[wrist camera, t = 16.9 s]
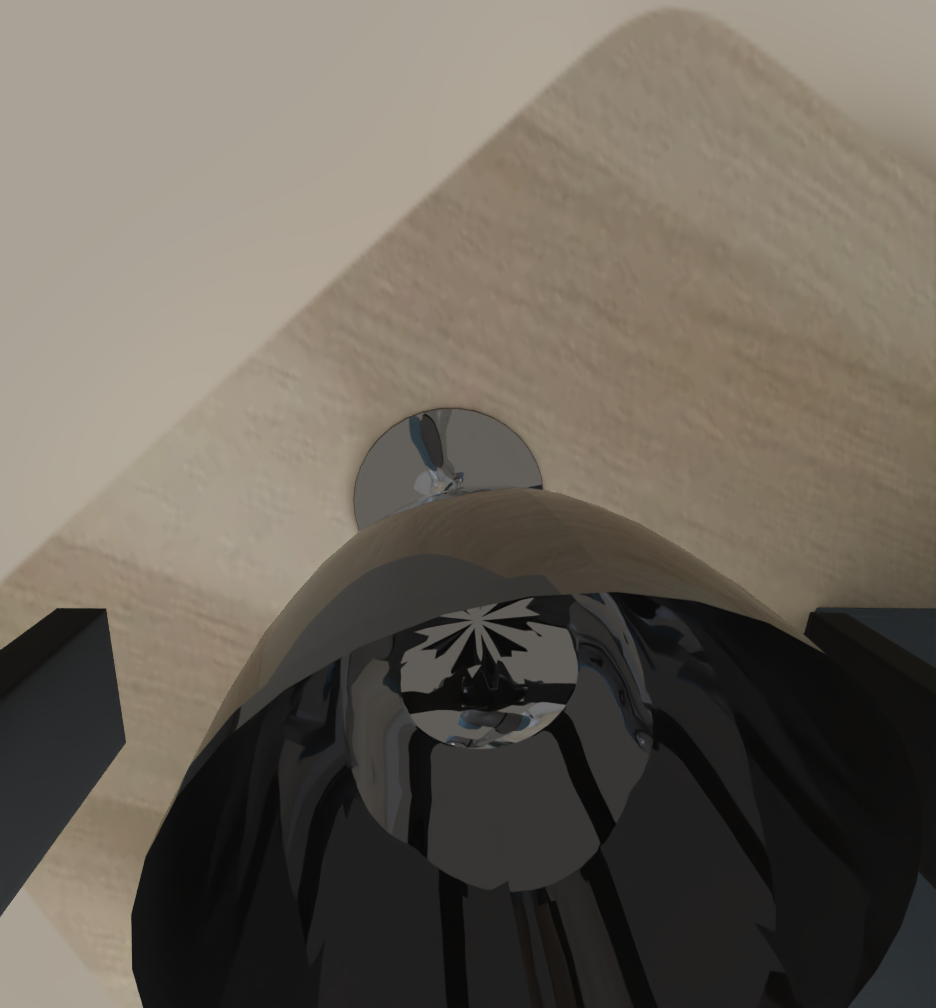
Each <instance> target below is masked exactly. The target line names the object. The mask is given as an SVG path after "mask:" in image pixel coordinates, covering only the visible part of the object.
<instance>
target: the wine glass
mask: <svg viewBox="0 0 936 1008" xmlns="http://www.w3.org/2000/svg"><path fill="white" fill-rule="evenodd" d="M354 511H355V518H356V521H357V525H358V529H359V533H357V534H356V535H354V536H353V537H352V538H351V539H350V540H349V541H348V542H346V543H345V544H344V545H343V546H342V547H341V548H339V549H338V550H337V551H336V552H335V553H334V554H332V555H331V556H330V557H329V558H328V559H327V560H325V561H324V562H323V563H322V564H321V566H320V567H319V568H318V569H317V570H316V571H315V572H314V573H313V575H312V576H311V577H310V578H309V579H308V580H307V581H306V582H305V584H304V585H303V586H302V587H301V588H300V589H299V590H298V591H297V593H296V594H295V595H294V596H293V598H292V599H291V600H290V601H289V603H288V604H287V605H286V606H285V607H284V609H283V610H282V611H281V612H280V614H279V615H278V616H277V617H276V619H275V620H274V621H273V622H272V624H271V625H270V626H269V627H268V629H267V630H266V631H265V633H264V634H263V636H262V638H261V639H260V641H259V642H258V644H257V646H256V647H255V649H254V651H253V652H252V654H251V655H250V657H249V659H248V660H247V662H246V664H245V665H244V667H243V668H242V670H241V672H240V673H239V675H238V677H237V678H236V680H235V681H234V683H233V685H232V686H231V688H230V690H229V691H228V693H227V695H226V697H225V698H224V700H223V702H222V704H221V706H220V708H219V710H218V712H217V714H216V716H215V718H214V720H213V722H212V724H211V726H210V728H209V729H208V731H207V733H206V735H205V737H204V739H203V741H202V743H201V745H200V747H199V749H198V751H197V753H196V755H195V757H194V759H193V761H192V762H191V764H190V766H189V768H188V770H187V772H186V774H185V776H184V778H183V780H182V782H181V784H180V786H179V788H178V790H177V792H176V794H175V795H174V797H173V799H172V801H171V803H170V805H169V807H168V809H167V811H166V813H165V815H164V817H163V819H162V821H161V823H160V825H159V827H158V830H157V832H156V834H155V837H154V839H153V841H152V843H151V846H150V848H149V850H148V853H147V855H146V857H145V861H144V865H143V870H142V874H141V878H140V882H139V886H138V890H137V894H136V898H135V902H134V906H133V910H132V914H131V925H132V970H133V974H134V977H135V981H136V984H137V987H138V991H139V994H140V998H141V1001H142V1005H143V1008H848V1007H849V1005H850V1004H851V1003H852V1002H853V1000H854V999H855V998H856V997H857V995H858V994H859V993H860V991H861V990H862V989H863V988H864V986H865V985H866V984H867V982H868V981H869V980H870V979H871V977H872V976H873V975H874V973H875V972H876V971H877V969H878V967H879V966H880V964H881V962H882V960H883V958H884V957H885V955H886V953H887V951H888V949H889V948H890V946H891V944H892V942H893V940H894V939H895V937H896V935H897V933H898V932H899V930H900V928H901V925H902V923H903V920H904V917H905V914H906V911H907V908H908V905H909V902H910V900H911V897H912V894H913V891H914V888H915V885H916V882H917V877H918V869H919V861H920V854H921V846H922V838H923V827H922V817H921V807H920V796H919V786H918V783H917V780H916V777H915V774H914V772H913V769H912V766H911V763H910V761H909V758H908V755H907V753H906V750H905V747H904V744H903V742H902V739H901V737H900V735H899V734H898V733H897V731H896V730H895V728H894V727H893V725H892V724H891V722H890V721H889V719H888V718H887V717H886V715H885V714H884V712H883V711H882V709H881V708H880V706H879V705H878V704H877V702H876V701H875V699H874V698H873V696H872V695H871V693H870V692H868V691H867V690H866V689H865V688H864V687H863V686H862V685H860V684H859V683H858V682H857V681H856V680H855V679H854V678H853V677H851V676H850V675H849V674H848V673H847V672H846V671H845V670H844V669H842V668H841V667H840V666H839V665H838V664H837V663H836V662H834V661H833V660H832V659H831V658H830V657H829V656H828V655H826V654H825V653H824V652H823V651H822V650H821V649H820V648H818V647H817V646H816V645H815V644H814V643H813V642H812V641H810V640H809V639H808V638H807V637H806V636H805V635H804V634H802V633H801V632H800V631H799V630H797V629H796V628H795V627H794V626H792V625H791V624H790V623H788V622H787V621H786V620H784V619H783V618H782V617H780V616H779V615H778V614H777V613H775V612H774V611H773V610H771V609H770V608H769V607H767V606H766V605H765V604H763V603H762V602H761V601H759V600H758V599H757V598H756V597H754V596H753V595H752V594H750V593H749V592H748V591H746V590H745V589H744V588H742V587H741V586H740V585H739V584H737V583H736V582H734V581H733V580H731V579H729V578H728V577H726V576H725V575H723V574H722V573H720V572H719V571H717V570H716V569H714V568H713V567H711V566H709V565H708V564H706V563H705V562H703V561H702V560H700V559H699V558H697V557H696V556H694V555H693V554H691V553H690V552H688V551H686V550H685V549H683V548H682V547H680V546H679V545H677V544H675V543H674V542H672V541H670V540H668V539H666V538H665V537H663V536H661V535H659V534H658V533H656V532H654V531H652V530H650V529H649V528H647V527H645V526H643V525H641V524H640V523H638V522H636V521H633V520H631V519H629V518H626V517H624V516H621V515H619V514H617V513H614V512H612V511H610V510H607V509H605V508H603V507H600V506H598V505H595V504H592V503H589V502H586V501H582V500H579V499H576V498H573V497H570V496H567V495H564V494H561V493H556V492H551V491H545V490H543V486H542V479H541V475H540V472H539V469H538V466H537V463H536V461H535V459H534V457H533V455H532V453H531V452H530V450H529V448H528V447H527V446H526V444H525V443H524V442H523V441H522V439H521V438H520V437H519V436H518V435H517V434H516V433H515V432H513V431H512V430H511V429H510V428H509V427H508V426H506V425H505V424H503V423H501V422H500V421H498V420H496V419H494V418H493V417H491V416H488V415H485V414H483V413H480V412H477V411H473V410H467V409H461V408H439V409H434V410H429V411H423V412H421V413H418V414H415V415H413V416H410V417H408V418H406V419H404V420H402V421H401V422H399V423H397V424H396V425H394V426H392V427H391V428H390V429H389V430H388V431H387V432H385V433H384V434H383V435H382V436H381V437H380V438H379V439H378V440H377V441H376V442H375V444H374V445H373V446H372V448H371V449H370V450H369V451H368V453H367V455H366V457H365V459H364V461H363V463H362V464H361V466H360V469H359V473H358V476H357V479H356V482H355V491H354Z"/></svg>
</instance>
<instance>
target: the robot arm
mask: <svg viewBox="0 0 936 1008" xmlns="http://www.w3.org/2000/svg"><path fill="white" fill-rule="evenodd" d="M804 635H805V636H806V637H807V638H808V639H809V640H810V641H812V642H813V643H814V644H815V645H816V646H817V647H818V648H820V649H821V650H822V651H823V652H824V653H825V654H826V655H828V656H829V657H830V658H831V659H832V660H833V661H834V662H836V663H837V664H838V665H839V666H840V667H841V668H842V669H844V670H845V671H846V672H847V673H848V674H849V675H850V676H851V677H853V678H854V679H855V680H856V681H857V682H858V683H859V684H860V685H862V686H863V687H864V688H865V689H866V690H867V691H868V692H870V693H871V695H872V696H873V698H874V699H875V701H876V702H877V704H878V705H879V706H880V708H881V709H882V711H883V712H884V714H885V715H886V717H887V718H888V719H889V721H890V722H891V724H892V725H893V727H894V728H895V730H896V731H897V733H898V734H899V735H900V737H901V739H902V742H903V744H904V747H905V750H906V753H907V755H908V758H909V761H910V763H911V766H912V769H913V772H914V774H915V777H916V780H917V783H918V786H919V796H920V807H921V817H922V827H923V838H922V846H921V854H920V861H919V869H918V872H919V873H920V874H921V875H922V876H923V877H924V878H925V879H926V880H927V881H928V882H929V883H930V884H931V885H932V886H933V887H934V888H935V889H936V668H935V667H933V666H932V665H930V664H928V663H927V662H925V661H923V660H922V659H920V658H919V657H917V656H915V655H914V654H912V653H910V652H909V651H907V650H905V649H904V648H902V647H901V646H899V645H897V644H896V643H894V642H892V641H891V640H889V639H887V638H886V637H884V636H882V635H881V634H879V633H878V632H876V631H874V630H873V629H871V628H869V627H868V626H866V625H864V624H863V623H861V622H859V621H858V620H856V619H855V618H853V617H851V616H850V615H848V614H846V613H835V612H810V615H809V618H808V622H807V626H806V629H805V633H804ZM125 743H126V739H125V733H124V726H123V719H122V712H121V706H120V699H119V692H118V685H117V679H116V672H115V665H114V659H113V652H112V645H111V638H110V632H109V625H108V618H107V612H106V609H91V608H57V609H56V610H54V611H53V612H52V613H50V614H49V615H47V616H46V617H45V618H43V619H42V620H41V621H39V622H38V623H37V624H35V625H34V626H33V627H31V628H30V629H28V630H27V631H26V632H24V633H23V634H22V635H20V636H19V637H18V638H16V639H15V640H14V641H12V642H11V643H9V644H8V645H7V646H5V647H4V648H3V649H1V650H0V916H1V915H2V914H3V912H4V911H5V909H6V908H7V907H8V905H9V904H10V903H11V901H12V900H13V898H14V897H15V896H16V894H17V893H18V892H19V890H20V889H21V887H22V886H23V885H24V883H25V882H26V880H27V879H28V878H29V876H30V875H31V874H32V872H33V871H34V869H35V868H36V867H37V865H38V864H39V862H40V861H41V860H42V858H43V857H44V856H45V854H46V853H47V851H48V850H49V849H50V847H51V846H52V844H53V843H54V842H55V840H56V839H57V837H58V836H59V835H60V833H61V832H62V831H63V829H64V828H65V826H66V825H67V824H68V822H69V821H70V819H71V818H72V817H73V815H74V814H75V813H76V811H77V810H78V808H79V807H80V806H81V804H82V803H83V801H84V800H85V799H86V797H87V796H88V795H89V793H90V792H91V790H92V789H93V788H94V786H95V785H96V783H97V782H98V781H99V779H100V778H101V777H102V775H103V774H104V772H105V771H106V770H107V768H108V767H109V765H110V764H111V763H112V761H113V760H114V759H115V757H116V756H117V754H118V753H119V752H120V750H121V749H122V747H123V746H124V745H125Z"/></svg>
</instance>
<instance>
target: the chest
mask: <svg viewBox="0 0 936 1008" xmlns="http://www.w3.org/2000/svg"><path fill="white" fill-rule="evenodd" d="M816 612H835V613H846V614H848V615H850V616H851V617H853V618H855V619H856V620H858V621H859V622H861V623H863V624H864V625H866V626H868V627H869V628H871V629H873V630H874V631H876V632H878V633H879V634H881V635H882V636H884V637H886V638H887V639H889V640H891V641H892V642H894V643H896V644H897V645H899V646H901V647H902V648H904V649H905V650H907V651H909V652H910V653H912V654H914V655H915V656H917V657H919V658H920V659H922V660H923V661H925V662H927V663H928V664H930V665H932V666H933V667H935V668H936V609H900V608H817V609H816ZM848 1008H936V889H935V888H934V887H933V886H932V885H931V884H930V883H929V882H928V881H927V880H926V879H925V878H924V877H923V876H922V875H921V874H920V873H919V872H918V877H917V882H916V885H915V888H914V891H913V894H912V897H911V900H910V902H909V905H908V908H907V911H906V914H905V917H904V920H903V923H902V925H901V928H900V930H899V932H898V933H897V935H896V937H895V939H894V940H893V942H892V944H891V946H890V948H889V949H888V951H887V953H886V955H885V957H884V958H883V960H882V962H881V964H880V966H879V967H878V969H877V971H876V972H875V973H874V975H873V976H872V977H871V979H870V980H869V981H868V982H867V984H866V985H865V986H864V988H863V989H862V990H861V991H860V993H859V994H858V995H857V997H856V998H855V999H854V1000H853V1002H852V1003H851V1004H850V1005H849V1007H848Z"/></svg>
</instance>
